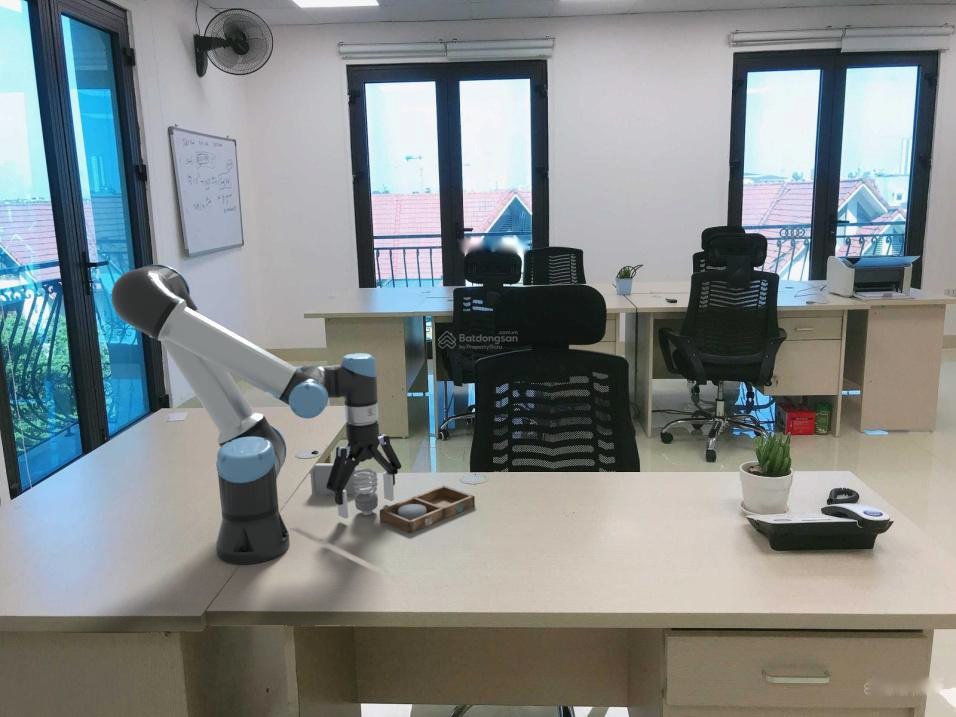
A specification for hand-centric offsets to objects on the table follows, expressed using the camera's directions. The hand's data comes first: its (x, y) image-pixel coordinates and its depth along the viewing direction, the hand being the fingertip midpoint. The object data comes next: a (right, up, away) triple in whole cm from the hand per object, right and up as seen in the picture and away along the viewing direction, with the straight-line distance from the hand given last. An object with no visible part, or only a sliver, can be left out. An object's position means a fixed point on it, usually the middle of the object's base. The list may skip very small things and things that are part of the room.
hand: (366, 507), depth 182 cm
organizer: (+15, -2, 0) cm, 15 cm away
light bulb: (0, -2, +1) cm, 2 cm away
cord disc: (+11, -2, -4) cm, 12 cm away
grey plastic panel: (-10, 0, +16) cm, 19 cm away
